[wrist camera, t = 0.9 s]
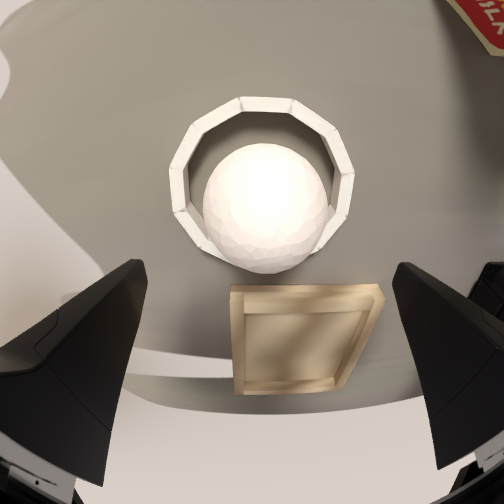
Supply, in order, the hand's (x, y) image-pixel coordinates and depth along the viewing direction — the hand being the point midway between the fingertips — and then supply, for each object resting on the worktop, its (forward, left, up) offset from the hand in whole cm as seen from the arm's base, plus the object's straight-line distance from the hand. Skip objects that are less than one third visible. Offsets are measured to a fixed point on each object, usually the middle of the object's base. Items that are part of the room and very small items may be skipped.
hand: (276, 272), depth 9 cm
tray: (-4, +15, -9) cm, 18 cm away
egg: (0, 0, -9) cm, 9 cm away
